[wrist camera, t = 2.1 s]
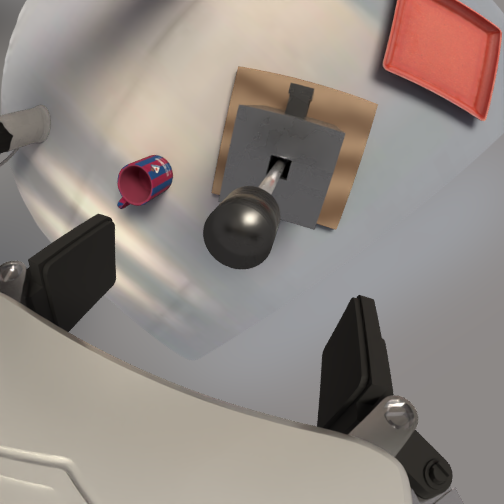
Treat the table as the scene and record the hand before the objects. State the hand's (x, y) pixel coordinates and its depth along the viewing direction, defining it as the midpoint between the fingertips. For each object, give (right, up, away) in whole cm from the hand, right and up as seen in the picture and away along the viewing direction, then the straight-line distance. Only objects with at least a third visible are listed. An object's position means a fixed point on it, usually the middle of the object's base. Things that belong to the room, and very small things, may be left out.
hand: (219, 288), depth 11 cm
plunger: (+5, +12, +21) cm, 24 cm away
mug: (-16, +14, +38) cm, 43 cm away
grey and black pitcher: (-47, +28, +37) cm, 66 cm away
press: (+7, +17, +28) cm, 34 cm away
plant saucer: (+29, +32, +18) cm, 47 cm away
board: (+7, +17, +30) cm, 35 cm away
